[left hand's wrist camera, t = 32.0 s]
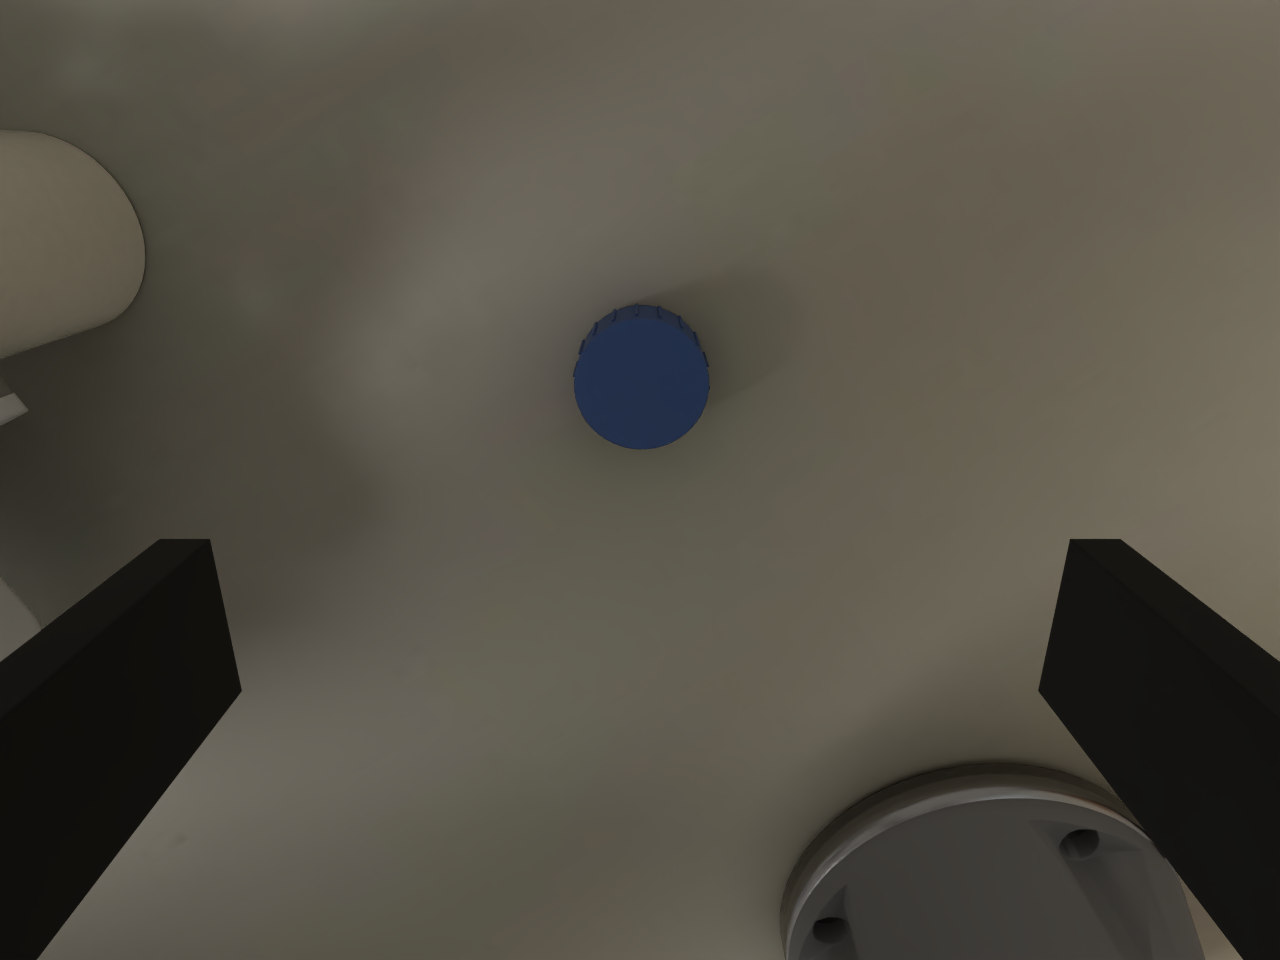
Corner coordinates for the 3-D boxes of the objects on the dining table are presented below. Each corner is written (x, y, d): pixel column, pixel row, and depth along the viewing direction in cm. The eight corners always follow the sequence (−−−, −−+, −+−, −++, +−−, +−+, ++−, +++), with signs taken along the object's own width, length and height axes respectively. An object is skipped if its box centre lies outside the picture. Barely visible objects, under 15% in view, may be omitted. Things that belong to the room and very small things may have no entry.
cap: (729, 383, 25) (737, 403, 23) (624, 450, 26) (623, 475, 24) (659, 276, 24) (661, 288, 22) (551, 351, 24) (544, 368, 22)
